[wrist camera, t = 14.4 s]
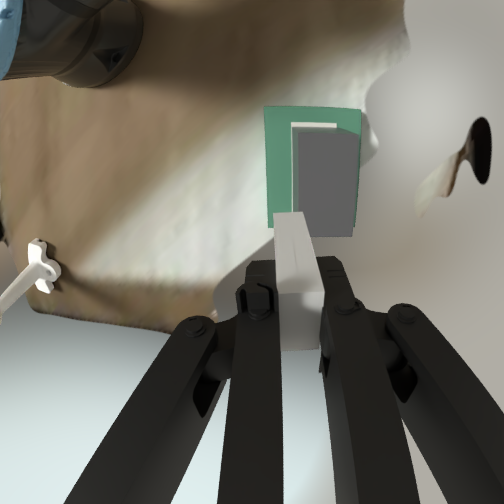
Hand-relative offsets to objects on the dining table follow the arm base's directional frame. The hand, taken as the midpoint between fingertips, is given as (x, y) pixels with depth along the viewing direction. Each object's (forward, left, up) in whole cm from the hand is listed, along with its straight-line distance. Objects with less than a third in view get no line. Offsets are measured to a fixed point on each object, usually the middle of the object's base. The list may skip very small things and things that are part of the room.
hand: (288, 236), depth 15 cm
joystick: (+17, -44, -25) cm, 53 cm away
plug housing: (+2, +5, -23) cm, 23 cm away
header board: (+2, +5, -25) cm, 25 cm away
